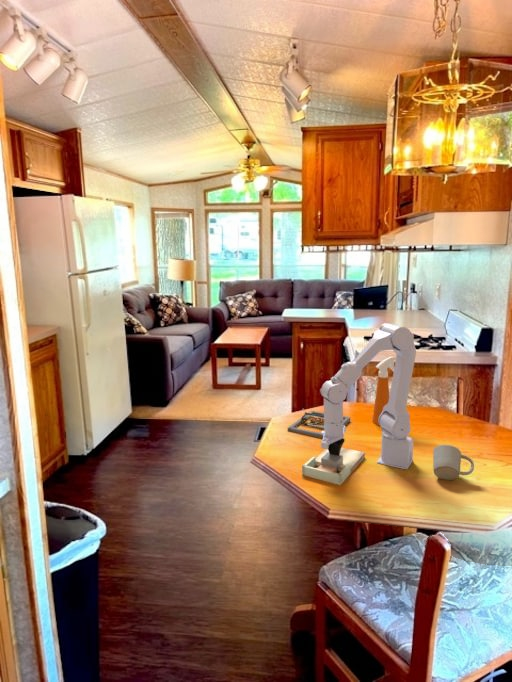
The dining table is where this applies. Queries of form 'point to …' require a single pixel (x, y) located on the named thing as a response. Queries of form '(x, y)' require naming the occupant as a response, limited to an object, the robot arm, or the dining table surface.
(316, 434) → the gray open frame
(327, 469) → the tile terracotta
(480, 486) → the dining table surface
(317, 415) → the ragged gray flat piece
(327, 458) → the tile slate
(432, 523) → the dining table surface
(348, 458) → the board
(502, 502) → the dining table surface
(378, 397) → the spray bottle
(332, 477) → the tray
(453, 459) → the ceramic mug
